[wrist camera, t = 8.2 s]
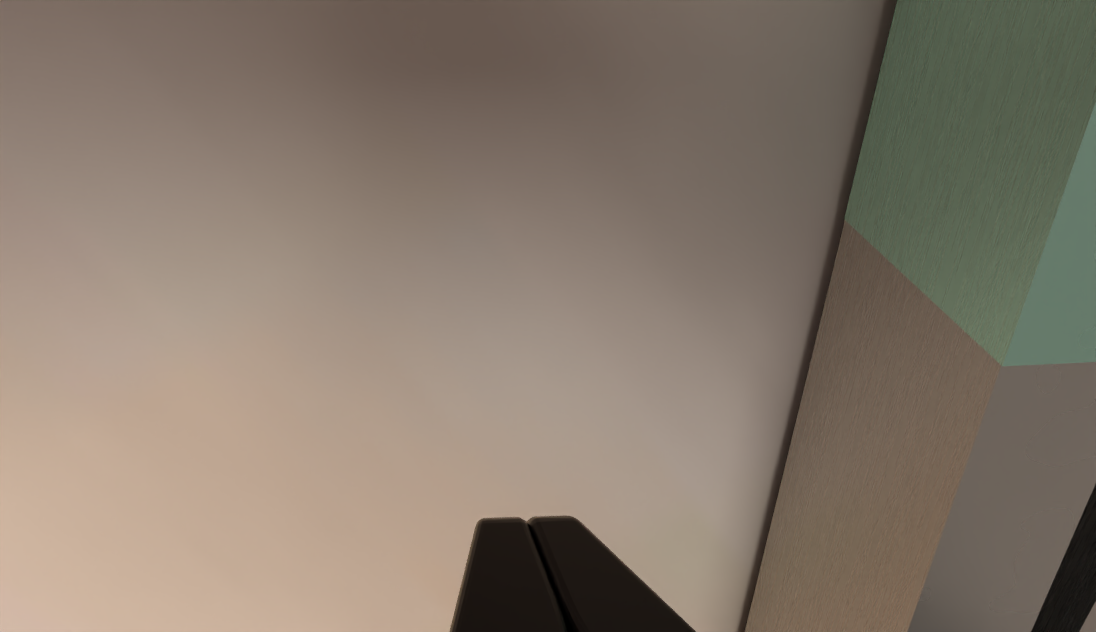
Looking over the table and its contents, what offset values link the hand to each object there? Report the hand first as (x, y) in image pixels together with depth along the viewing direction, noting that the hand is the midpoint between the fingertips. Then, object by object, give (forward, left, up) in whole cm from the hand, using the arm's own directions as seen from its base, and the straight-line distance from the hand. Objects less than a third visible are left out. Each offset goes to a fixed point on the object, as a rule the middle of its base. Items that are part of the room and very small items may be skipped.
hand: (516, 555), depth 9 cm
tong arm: (-7, +3, -6) cm, 10 cm away
